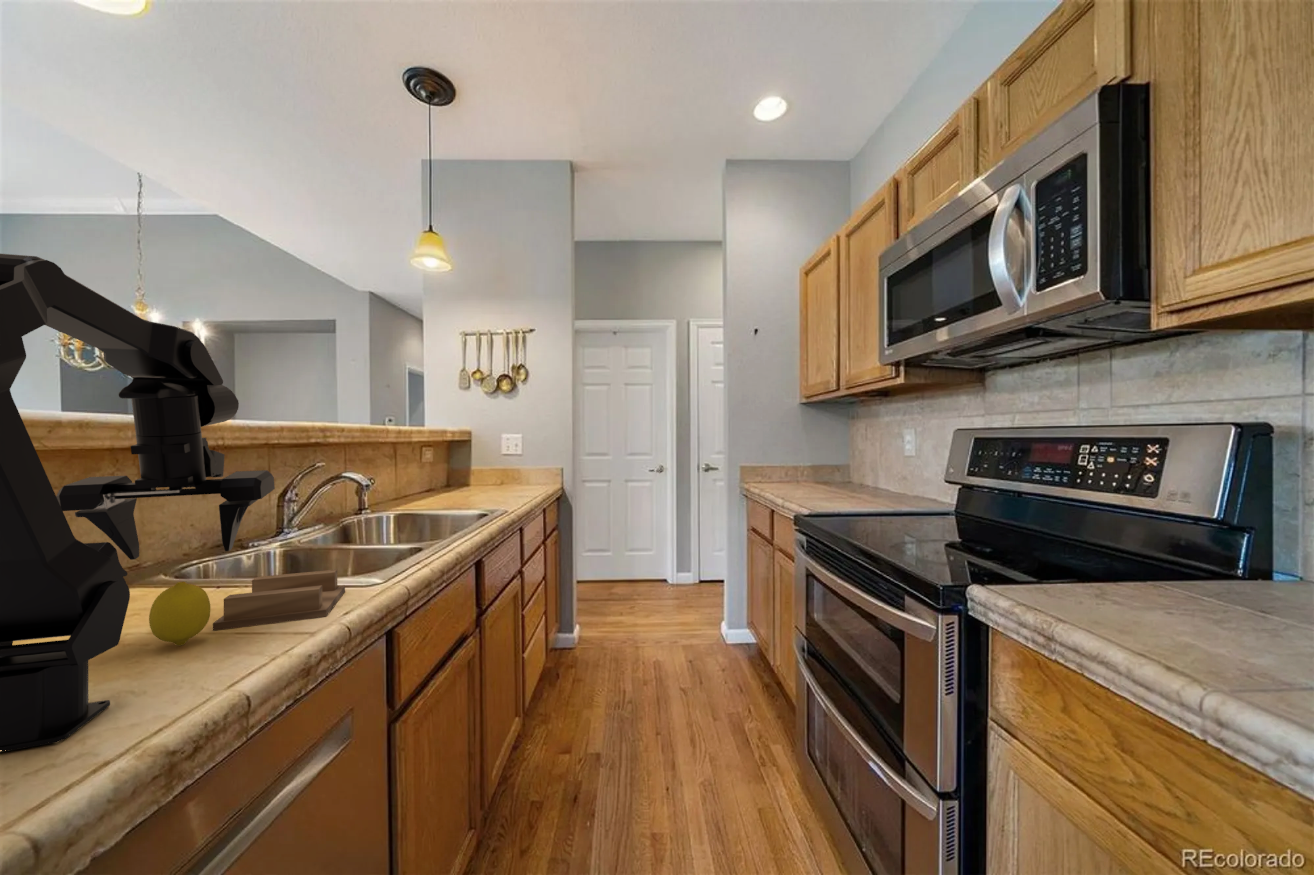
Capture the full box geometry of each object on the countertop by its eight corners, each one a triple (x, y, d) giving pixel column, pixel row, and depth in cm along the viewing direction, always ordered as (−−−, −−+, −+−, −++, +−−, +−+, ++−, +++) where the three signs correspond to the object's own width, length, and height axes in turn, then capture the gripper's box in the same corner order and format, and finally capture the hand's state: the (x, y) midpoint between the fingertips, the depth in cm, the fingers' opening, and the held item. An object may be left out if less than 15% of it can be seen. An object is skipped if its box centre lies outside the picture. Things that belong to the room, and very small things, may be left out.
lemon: (172, 656, 58) (172, 589, 58) (136, 653, 59) (136, 587, 59) (222, 638, 63) (222, 576, 63) (188, 635, 64) (188, 574, 64)
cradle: (326, 616, 71) (326, 589, 71) (212, 630, 66) (212, 601, 66) (345, 591, 83) (344, 568, 83) (250, 601, 78) (250, 576, 78)
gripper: (283, 424, 71) (290, 527, 73) (109, 425, 63) (124, 540, 66) (254, 435, 60) (264, 555, 63) (43, 439, 53) (63, 573, 56)
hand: (183, 554), depth 62 cm, fingers open, 9 cm apart
